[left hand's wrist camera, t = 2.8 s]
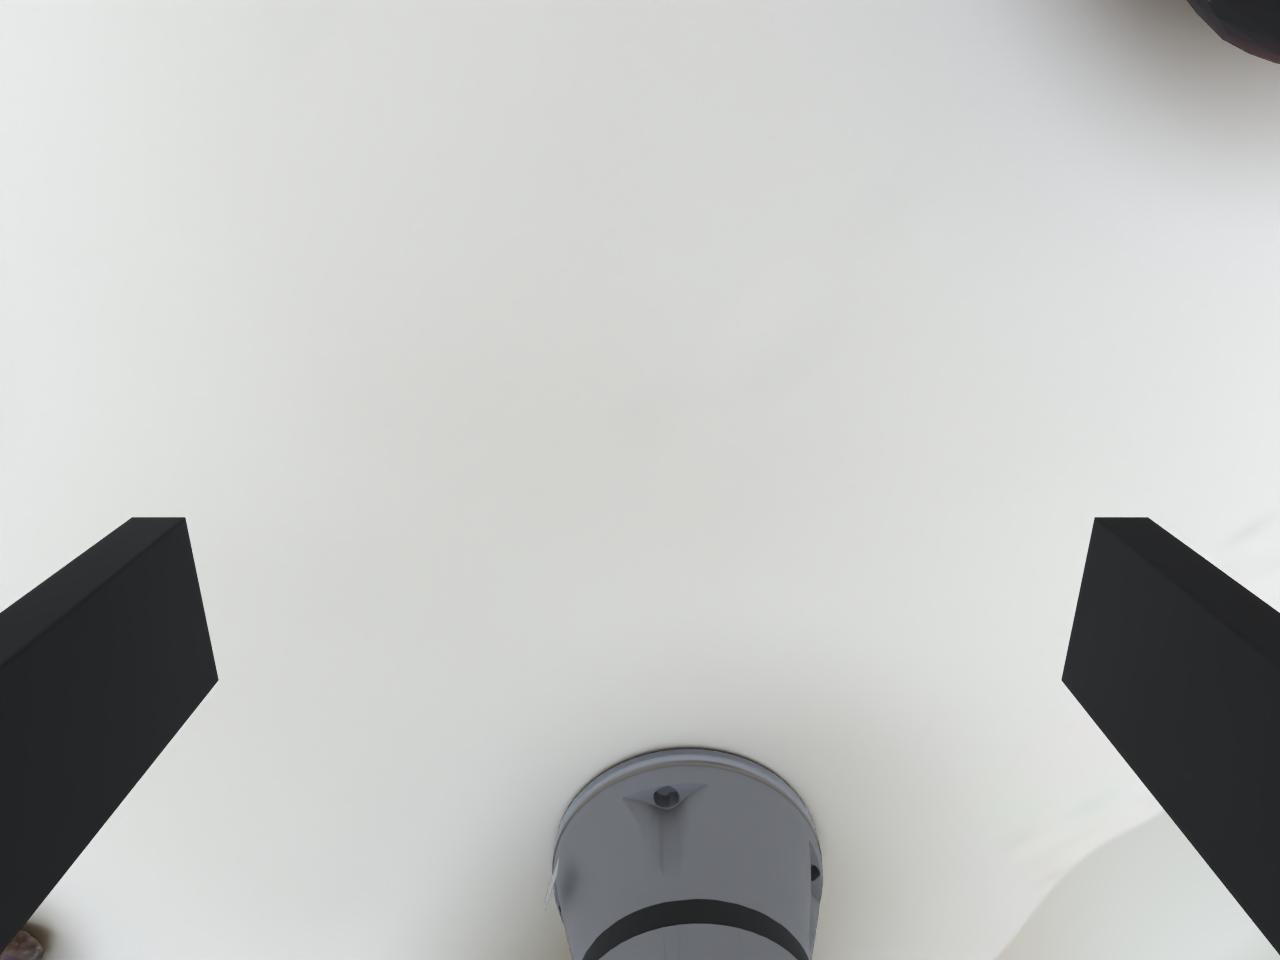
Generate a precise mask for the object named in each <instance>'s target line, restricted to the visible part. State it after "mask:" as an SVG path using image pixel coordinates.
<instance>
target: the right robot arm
mask: <svg viewBox="0 0 1280 960" xmlns="http://www.w3.org/2000/svg"><path fill="white" fill-rule="evenodd" d="M822 885H823V871H822V857H821V851H820V846H819V842H818V838H817V834H816V830H815V827H814V824H813V821H812V818H811V816H810V814H809V812H808V810H807V808H806V806H805V805H804V803H803V802H802V800H801V799H800V798H799V796H798V795H797V794H796V793H795V792H794V790H793V789H792V788H791V787H789V786H788V785H787V784H786V783H785V782H784V781H783V780H782V779H780V778H779V777H778V776H776V775H775V774H774V773H772V772H770V771H769V770H767V769H766V768H764V767H762V766H760V765H758V764H756V763H754V762H752V761H749V760H746V759H744V758H741V757H738V756H735V755H731V754H728V753H723V752H718V751H711V750H703V749H674V750H666V751H659V752H654V753H650V754H646V755H642V756H639V757H636V758H633V759H630V760H628V761H625V762H623V763H621V764H619V765H617V766H615V767H613V768H611V769H609V770H608V771H606V772H604V773H603V774H601V775H600V776H598V777H597V778H596V779H594V780H593V781H592V782H590V783H589V784H588V785H587V786H586V787H585V788H584V789H583V790H582V791H581V792H580V793H579V794H578V795H577V796H576V798H575V799H574V800H573V802H572V803H571V804H570V806H569V807H568V809H567V811H566V813H565V814H564V816H563V818H562V821H561V823H560V826H559V829H558V832H557V836H556V842H555V849H554V857H553V876H552V879H551V882H550V885H549V888H548V891H547V894H546V900H545V908H546V905H547V902H548V899H549V896H550V893H551V890H552V887H554V895H555V900H556V904H557V907H558V910H559V913H560V916H561V918H562V921H563V923H564V926H565V931H566V935H567V939H568V943H569V948H570V951H571V955H572V959H573V960H812V953H813V947H814V940H815V933H816V927H817V920H818V913H819V903H820V899H821V893H822ZM545 908H544V911H545Z"/></svg>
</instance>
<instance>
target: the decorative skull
mask: <svg viewBox="0 0 1280 960" xmlns="http://www.w3.org/2000/svg"><path fill="white" fill-rule="evenodd" d="M1187 1H1188V2H1189V3H1190V5H1191V6H1192V8H1193V9H1194V10H1195V12H1196V13H1197V14H1198V15H1199V16H1200V17H1201V18H1202V19H1203V20H1204V21H1205V22H1206V23H1207V24H1208V25H1209V26H1210V27H1211V28H1212V29H1213V30H1214V31H1215V32H1216V33H1217V34H1218V35H1219V36H1220V37H1221V38H1222V39H1223V40H1225V41H1227V42H1229V43H1230V44H1232V45H1234V46H1236V47H1238V48H1240V49H1242V50H1244V51H1245V52H1247V53H1249V54H1252V55H1254V56H1257V57H1260V58H1263V59H1266V60H1269V61H1272V62H1275V63H1278V64H1280V0H1187Z"/></svg>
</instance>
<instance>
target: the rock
mask: <svg viewBox="0 0 1280 960" xmlns="http://www.w3.org/2000/svg"><path fill="white" fill-rule="evenodd" d="M42 955H43V949H42V946H41V944H40V943H39V942H38V940H37V939H35V938H33V937H31V935H30V934H29V933H28V932H26V931H21V930H20V931H19V932H18V933H17V935H16V936H15V937H14V938H13V940H12V941H11V942H10V943H9V945H8V946H7V947H6V948H5V950H4V951H3V952H2V953H1V955H0V960H41V959H42Z"/></svg>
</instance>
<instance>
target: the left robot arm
mask: <svg viewBox="0 0 1280 960" xmlns="http://www.w3.org/2000/svg"><path fill="white" fill-rule="evenodd" d="M217 681H218V676H217V671H216V666H215V661H214V656H213V651H212V646H211V641H210V636H209V632H208V627H207V622H206V617H205V612H204V607H203V602H202V597H201V592H200V587H199V583H198V578H197V573H196V568H195V563H194V558H193V553H192V548H191V543H190V539H189V534H188V529H187V524H186V519H185V517H132V518H131V519H129V520H128V521H127V522H125V523H124V524H122V525H121V526H120V527H118V528H117V529H116V530H114V531H113V532H111V533H110V534H109V535H107V536H106V537H105V538H103V539H102V540H100V541H99V542H98V543H96V544H95V545H93V546H92V547H91V548H89V549H88V550H87V551H85V552H84V553H82V554H81V555H80V556H78V557H77V558H76V559H74V560H73V561H71V562H70V563H69V564H67V565H66V566H65V567H63V568H62V569H60V570H59V571H58V572H56V573H55V574H53V575H52V576H51V577H49V578H48V579H47V580H45V581H44V582H42V583H41V584H40V585H38V586H37V587H36V588H34V589H33V590H31V591H30V592H29V593H27V594H26V595H25V596H23V597H22V598H20V599H19V600H18V601H16V602H15V603H13V604H12V605H11V606H9V607H8V608H7V609H5V610H4V611H2V612H1V613H0V955H1V953H2V952H3V951H4V950H5V948H6V947H7V946H8V945H9V943H10V942H11V941H12V940H13V938H14V937H15V936H16V935H17V933H18V932H19V931H20V929H21V928H22V927H23V926H24V924H25V923H26V922H27V921H28V919H29V918H30V917H31V916H32V914H33V913H34V912H35V911H36V909H37V908H38V907H39V906H40V904H41V903H42V902H43V901H44V899H45V898H46V897H47V895H48V894H49V893H50V892H51V890H52V889H53V888H54V887H55V885H56V884H57V883H58V882H59V880H60V879H61V878H62V877H63V875H64V874H65V873H66V872H67V870H68V869H69V868H70V866H71V865H72V864H73V863H74V861H75V860H76V859H77V858H78V856H79V855H80V854H81V853H82V851H83V850H84V849H85V848H86V846H87V845H88V844H89V843H90V841H91V840H92V839H93V838H94V836H95V835H96V834H97V832H98V831H99V830H100V829H101V827H102V826H103V825H104V824H105V822H106V821H107V820H108V819H109V817H110V816H111V815H112V814H113V812H114V811H115V810H116V809H117V807H118V806H119V805H120V804H121V802H122V801H123V800H124V798H125V797H126V796H127V795H128V793H129V792H130V791H131V790H132V788H133V787H134V786H135V785H136V783H137V782H138V781H139V780H140V778H141V777H142V776H143V775H144V773H145V772H146V771H147V770H148V768H149V767H150V766H151V764H152V763H153V762H154V761H155V759H156V758H157V757H158V756H159V754H160V753H161V752H162V751H163V749H164V748H165V747H166V746H167V744H168V743H169V742H170V741H171V739H172V738H173V737H174V736H175V734H176V733H177V732H178V730H179V729H180V728H181V727H182V725H183V724H184V723H185V722H186V720H187V719H188V718H189V717H190V715H191V714H192V713H193V712H194V710H195V709H196V708H197V707H198V705H199V704H200V703H201V702H202V700H203V699H204V698H205V696H206V695H207V694H208V693H209V691H210V690H211V689H212V688H213V686H214V685H215V684H216V683H217ZM1062 681H1063V683H1064V684H1065V685H1066V686H1067V688H1068V689H1069V690H1070V691H1071V693H1072V694H1073V695H1074V696H1075V698H1076V699H1077V700H1078V702H1079V703H1080V704H1081V705H1082V707H1083V708H1084V709H1085V710H1086V712H1087V713H1088V714H1089V715H1090V717H1091V718H1092V719H1093V720H1094V722H1095V723H1096V724H1097V725H1098V727H1099V728H1100V729H1101V730H1102V732H1103V733H1104V734H1105V736H1106V737H1107V738H1108V739H1109V741H1110V742H1111V743H1112V744H1113V746H1114V747H1115V748H1116V749H1117V751H1118V752H1119V753H1120V754H1121V756H1122V757H1123V758H1124V759H1125V761H1126V762H1127V763H1128V764H1129V766H1130V767H1131V768H1132V770H1133V771H1134V772H1135V773H1136V775H1137V776H1138V777H1139V778H1140V780H1141V781H1142V782H1143V783H1144V785H1145V786H1146V787H1147V788H1148V790H1149V791H1150V792H1151V793H1152V795H1153V796H1154V797H1155V798H1156V800H1157V801H1158V802H1159V804H1160V805H1161V806H1162V807H1163V809H1164V810H1165V811H1166V812H1167V814H1168V815H1169V816H1170V817H1171V819H1172V820H1173V821H1174V822H1175V824H1176V825H1177V826H1178V827H1179V829H1180V830H1181V831H1182V832H1183V834H1184V835H1185V836H1186V837H1187V839H1188V840H1189V841H1190V843H1191V844H1192V845H1193V846H1194V848H1195V849H1196V850H1197V851H1198V853H1199V854H1200V855H1201V856H1202V858H1203V859H1204V860H1205V861H1206V863H1207V864H1208V865H1209V867H1210V868H1211V869H1212V870H1213V872H1214V873H1215V874H1216V875H1217V877H1218V878H1219V879H1220V880H1221V882H1222V883H1223V884H1224V885H1225V887H1226V888H1227V889H1228V890H1229V892H1230V893H1231V894H1232V895H1233V897H1234V898H1235V899H1236V900H1237V902H1238V903H1239V904H1240V906H1241V907H1242V908H1243V909H1244V911H1245V912H1246V913H1247V914H1248V916H1249V917H1250V918H1251V919H1252V921H1253V922H1254V923H1255V924H1256V926H1257V927H1258V928H1259V929H1260V931H1261V932H1262V933H1263V934H1264V936H1265V937H1266V938H1267V940H1268V941H1269V942H1270V943H1271V945H1272V946H1273V947H1274V948H1275V950H1276V951H1277V952H1278V953H1279V955H1280V613H1279V612H1278V611H1276V610H1275V609H1273V608H1272V607H1271V606H1269V605H1268V604H1267V603H1265V602H1264V601H1262V600H1261V599H1260V598H1258V597H1257V596H1255V595H1254V594H1253V593H1251V592H1250V591H1249V590H1247V589H1246V588H1244V587H1243V586H1242V585H1240V584H1239V583H1238V582H1236V581H1235V580H1233V579H1232V578H1231V577H1229V576H1228V575H1227V574H1225V573H1224V572H1222V571H1221V570H1220V569H1218V568H1217V567H1215V566H1214V565H1213V564H1211V563H1210V562H1209V561H1207V560H1206V559H1204V558H1203V557H1202V556H1200V555H1199V554H1198V553H1196V552H1195V551H1193V550H1192V549H1191V548H1189V547H1188V546H1187V545H1185V544H1184V543H1182V542H1181V541H1180V540H1178V539H1177V538H1175V537H1174V536H1173V535H1171V534H1170V533H1169V532H1167V531H1166V530H1164V529H1163V528H1162V527H1160V526H1159V525H1158V524H1156V523H1155V522H1153V521H1152V520H1151V519H1149V518H1148V517H1095V519H1094V524H1093V529H1092V534H1091V539H1090V543H1089V548H1088V553H1087V558H1086V563H1085V568H1084V573H1083V578H1082V583H1081V587H1080V592H1079V597H1078V602H1077V607H1076V612H1075V617H1074V622H1073V627H1072V631H1071V636H1070V641H1069V646H1068V651H1067V656H1066V661H1065V666H1064V671H1063V676H1062Z"/></svg>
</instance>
